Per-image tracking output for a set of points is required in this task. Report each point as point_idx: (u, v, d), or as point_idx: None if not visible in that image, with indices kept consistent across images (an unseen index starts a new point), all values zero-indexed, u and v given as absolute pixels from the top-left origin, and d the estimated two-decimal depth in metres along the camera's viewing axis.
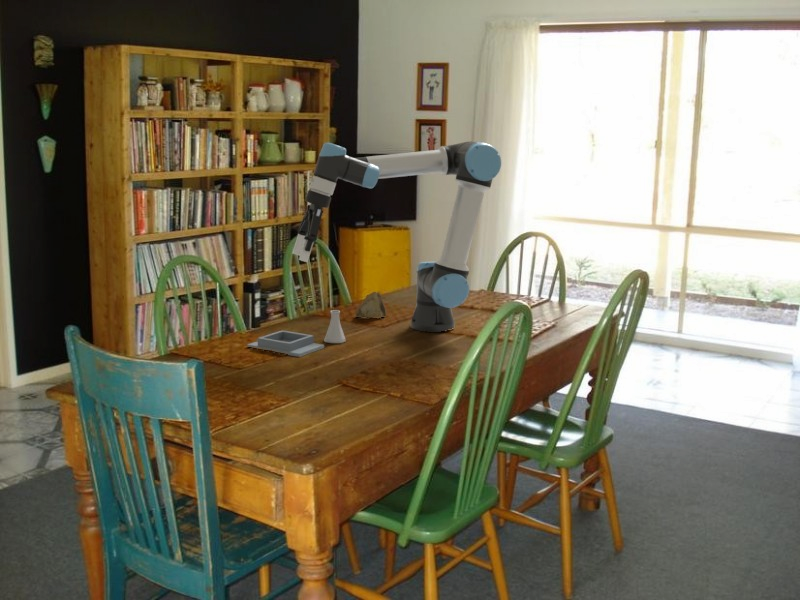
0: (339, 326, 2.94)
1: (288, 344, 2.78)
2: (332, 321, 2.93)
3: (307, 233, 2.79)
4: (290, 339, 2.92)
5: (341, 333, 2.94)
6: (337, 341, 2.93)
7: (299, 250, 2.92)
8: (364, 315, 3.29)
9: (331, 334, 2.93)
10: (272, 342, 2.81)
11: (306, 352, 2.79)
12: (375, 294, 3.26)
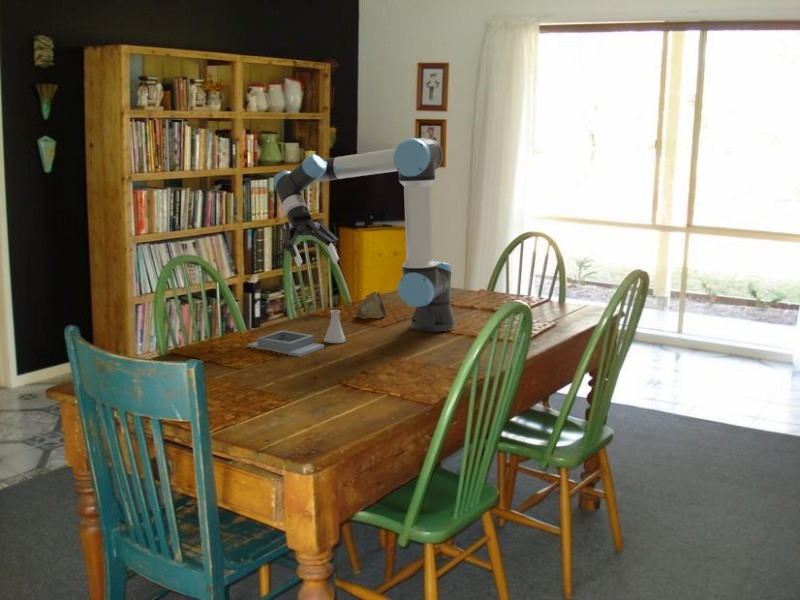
0: (339, 326, 2.94)
1: (288, 344, 2.78)
2: (332, 321, 2.93)
3: None
4: (290, 339, 2.92)
5: (341, 333, 2.94)
6: (337, 341, 2.93)
7: (334, 256, 3.03)
8: (364, 315, 3.29)
9: (331, 334, 2.93)
10: (272, 342, 2.81)
11: (306, 352, 2.79)
12: (375, 294, 3.26)
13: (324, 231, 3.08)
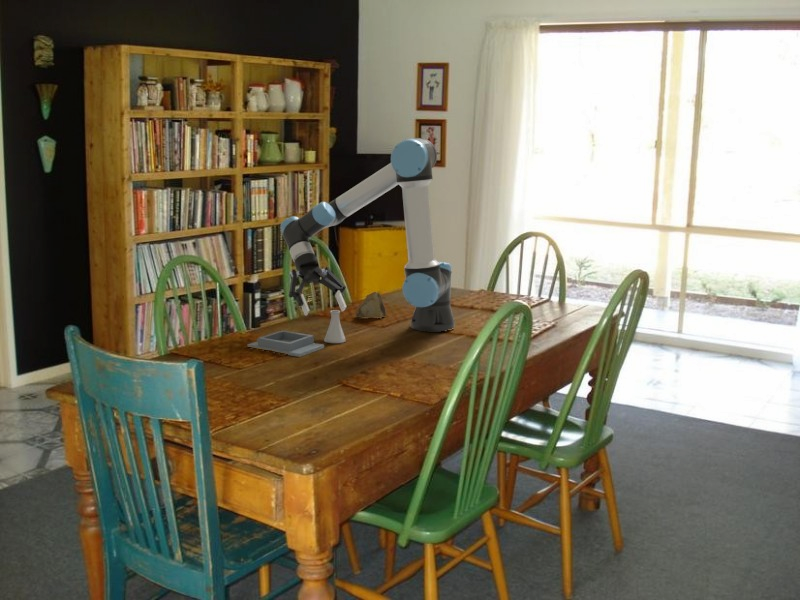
0: (339, 326, 2.94)
1: (288, 344, 2.78)
2: (332, 321, 2.93)
3: None
4: (290, 339, 2.92)
5: (341, 333, 2.94)
6: (337, 341, 2.93)
7: (342, 304, 3.01)
8: (364, 315, 3.29)
9: (331, 334, 2.93)
10: (272, 342, 2.81)
11: (306, 352, 2.79)
12: (375, 294, 3.26)
13: (331, 278, 3.06)
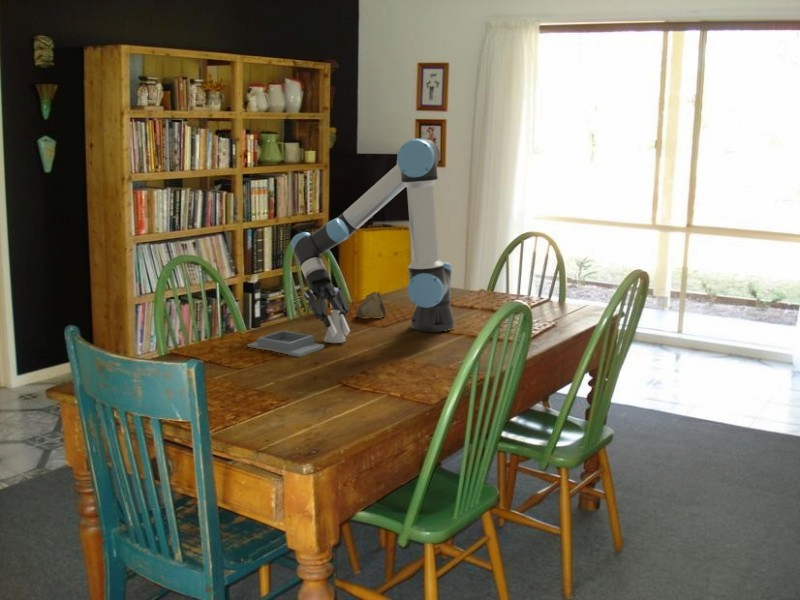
0: (339, 326, 2.94)
1: (288, 344, 2.78)
2: None
3: None
4: (290, 339, 2.92)
5: (341, 333, 2.94)
6: (337, 341, 2.93)
7: (345, 328, 2.94)
8: (364, 315, 3.29)
9: None
10: (272, 342, 2.81)
11: (306, 352, 2.79)
12: (375, 294, 3.26)
13: (340, 298, 3.00)
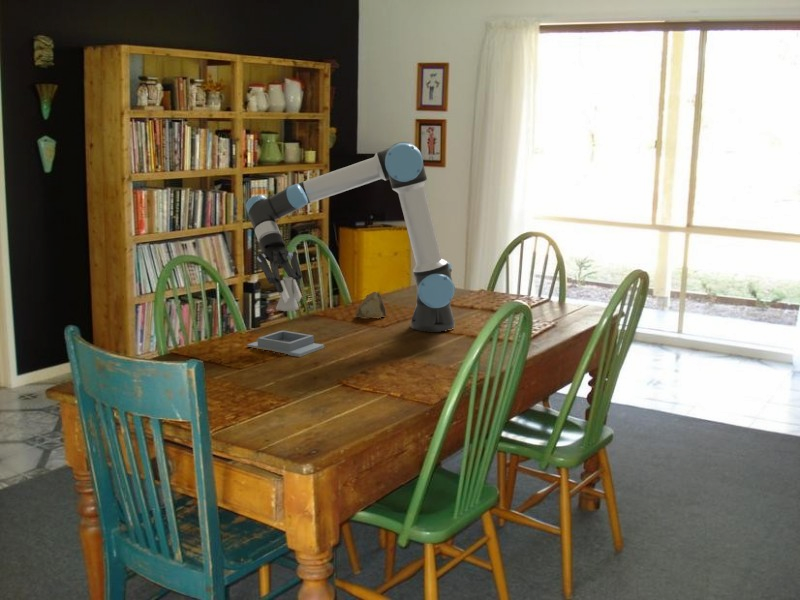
0: (291, 293, 2.83)
1: (288, 344, 2.78)
2: None
3: None
4: (290, 339, 2.92)
5: (293, 301, 2.84)
6: (289, 309, 2.82)
7: (297, 293, 2.83)
8: (364, 315, 3.29)
9: (283, 301, 2.83)
10: (272, 342, 2.81)
11: (306, 352, 2.79)
12: (375, 294, 3.26)
13: (293, 263, 2.89)
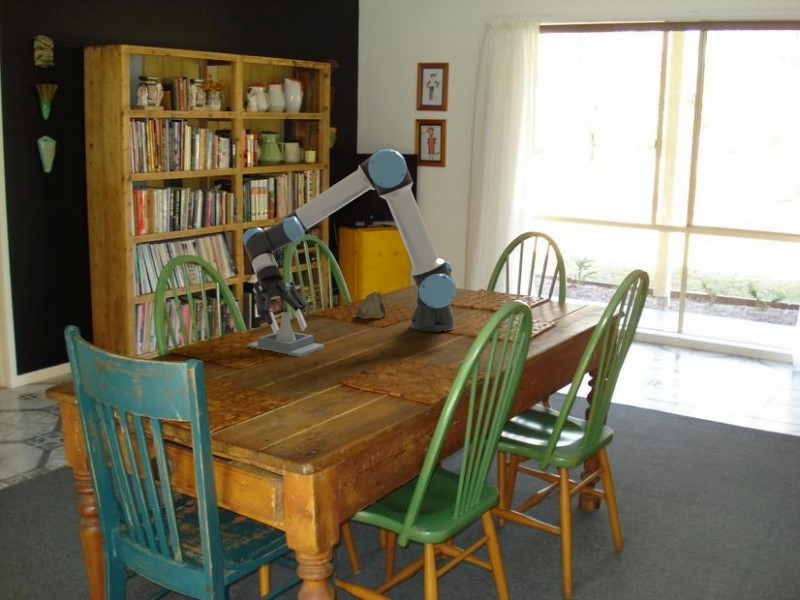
0: (290, 329, 2.84)
1: (288, 344, 2.78)
2: (282, 323, 2.84)
3: None
4: None
5: (292, 336, 2.85)
6: None
7: (302, 323, 2.86)
8: (364, 315, 3.29)
9: (281, 337, 2.84)
10: (272, 342, 2.81)
11: (306, 352, 2.79)
12: (375, 294, 3.26)
13: (294, 294, 2.91)
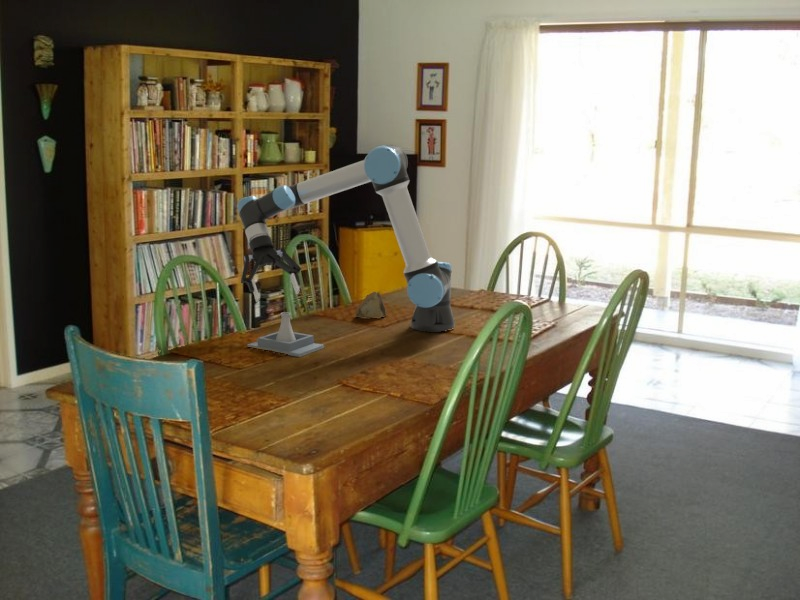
0: (290, 329, 2.84)
1: (288, 344, 2.78)
2: (282, 323, 2.84)
3: (251, 278, 2.99)
4: None
5: (292, 336, 2.85)
6: None
7: (295, 287, 3.00)
8: (364, 315, 3.29)
9: (281, 337, 2.84)
10: (272, 342, 2.81)
11: (306, 352, 2.79)
12: (375, 294, 3.26)
13: (287, 260, 3.04)
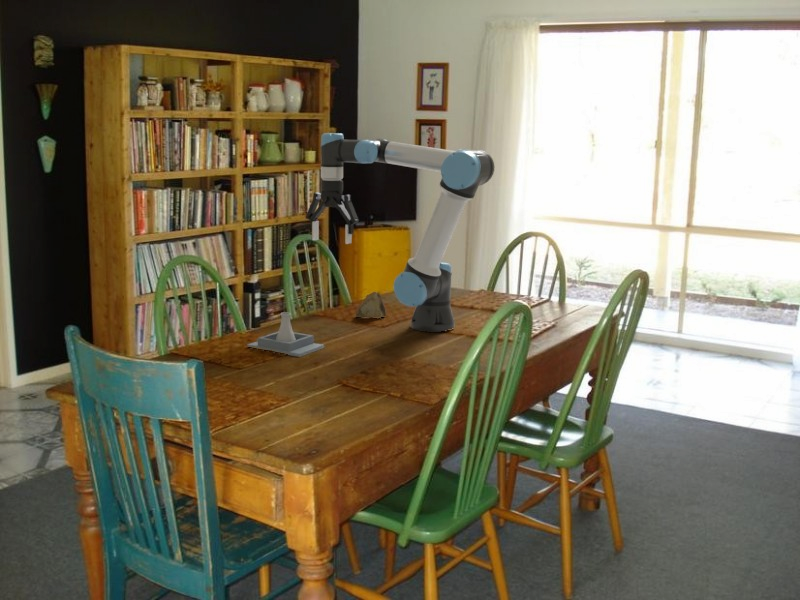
0: (290, 329, 2.84)
1: (288, 344, 2.78)
2: (282, 323, 2.84)
3: (318, 215, 3.17)
4: None
5: (292, 336, 2.85)
6: None
7: None
8: (364, 315, 3.29)
9: (281, 337, 2.84)
10: (272, 342, 2.81)
11: (306, 352, 2.79)
12: (375, 294, 3.26)
13: None
